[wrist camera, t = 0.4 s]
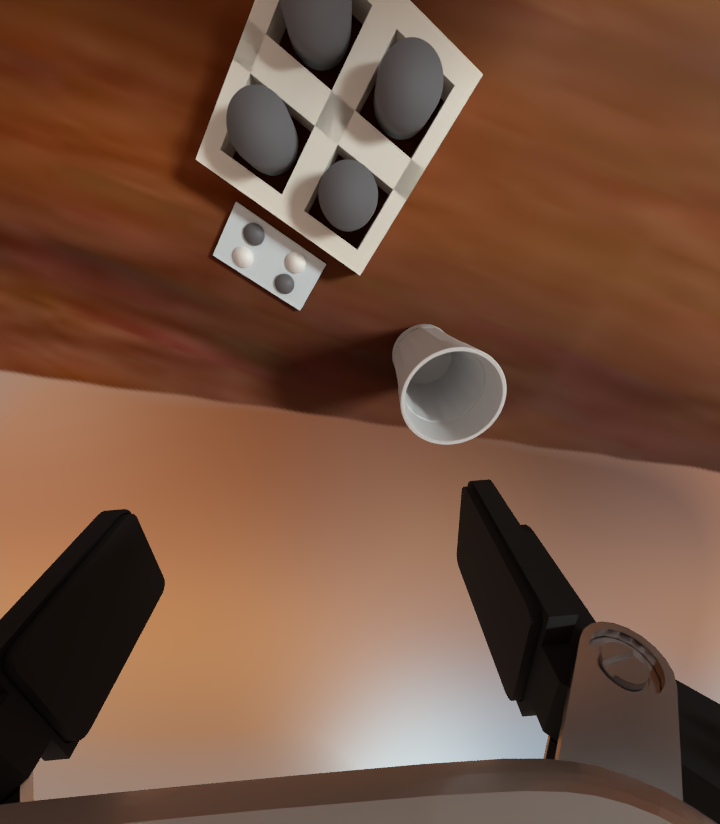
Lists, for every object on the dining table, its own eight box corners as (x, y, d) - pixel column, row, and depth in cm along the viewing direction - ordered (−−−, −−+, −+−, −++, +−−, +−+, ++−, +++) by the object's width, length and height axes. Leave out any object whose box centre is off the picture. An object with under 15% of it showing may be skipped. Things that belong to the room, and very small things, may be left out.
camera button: (307, -37, 22) (301, -84, 19) (363, 16, 23) (366, -20, 20) (276, 39, 24) (265, 8, 21) (330, 86, 25) (327, 63, 22)
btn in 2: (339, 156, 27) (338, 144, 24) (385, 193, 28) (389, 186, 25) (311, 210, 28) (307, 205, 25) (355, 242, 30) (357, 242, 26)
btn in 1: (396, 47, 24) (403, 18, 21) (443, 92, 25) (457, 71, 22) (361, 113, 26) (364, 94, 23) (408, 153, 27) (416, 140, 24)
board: (303, -72, 23) (297, -114, 20) (469, 91, 27) (483, 74, 24) (209, 167, 28) (195, 159, 26) (358, 273, 32) (360, 275, 30)
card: (237, 202, 30) (235, 201, 29) (326, 264, 32) (326, 264, 31) (214, 255, 31) (211, 255, 31) (300, 309, 34) (299, 311, 33)
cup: (369, 364, 37) (379, 413, 26) (414, 300, 34) (446, 324, 23) (427, 401, 39) (458, 460, 28) (474, 343, 36) (529, 384, 25)
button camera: (256, 89, 25) (243, 66, 22) (308, 131, 26) (303, 116, 23) (231, 151, 26) (215, 138, 23) (281, 188, 28) (273, 180, 24)
